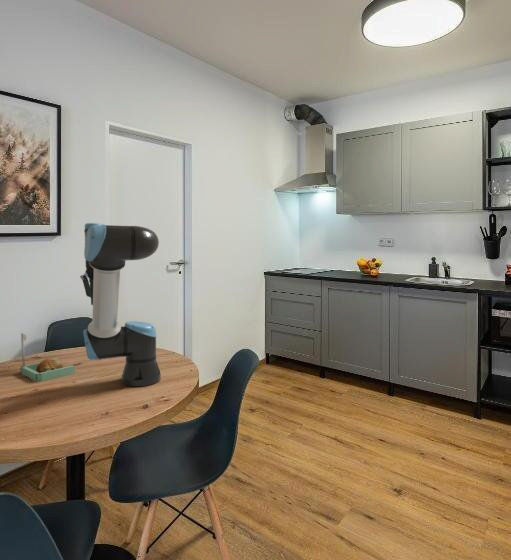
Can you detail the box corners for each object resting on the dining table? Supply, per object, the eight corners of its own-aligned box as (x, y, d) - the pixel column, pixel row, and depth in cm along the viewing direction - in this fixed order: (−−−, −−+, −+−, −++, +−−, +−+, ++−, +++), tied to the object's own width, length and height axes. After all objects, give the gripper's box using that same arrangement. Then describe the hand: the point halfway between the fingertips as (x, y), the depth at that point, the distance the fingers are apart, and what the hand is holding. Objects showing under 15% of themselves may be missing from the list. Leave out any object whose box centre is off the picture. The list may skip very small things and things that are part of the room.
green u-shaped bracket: (74, 373, 173) (73, 333, 172) (37, 382, 162) (35, 339, 160) (56, 365, 183) (55, 327, 182) (20, 373, 172) (18, 333, 170)
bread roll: (65, 379, 176) (69, 360, 179) (51, 376, 166) (56, 356, 169) (43, 378, 177) (48, 359, 180) (28, 375, 168) (33, 355, 170)
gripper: (103, 258, 189) (104, 309, 191) (76, 259, 179) (77, 313, 181) (112, 258, 185) (114, 311, 187) (85, 259, 175) (87, 314, 176)
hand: (96, 312), depth 184 cm, fingers closed
